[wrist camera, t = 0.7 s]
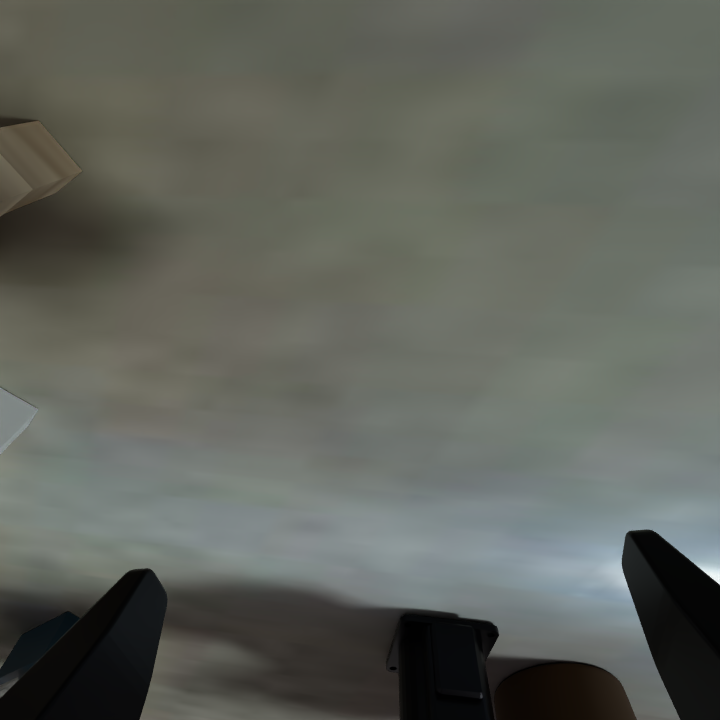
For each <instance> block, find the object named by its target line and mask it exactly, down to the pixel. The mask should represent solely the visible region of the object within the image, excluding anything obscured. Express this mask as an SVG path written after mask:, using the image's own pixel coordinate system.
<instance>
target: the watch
mask: <svg viewBox="0 0 720 720" xmlns="http://www.w3.org/2000/svg"><path fill="white" fill-rule="evenodd" d="M79 619H80V618H78V617H77V616H75V615H73V614H72V613H70V612H66V613H64V614H62V615H60V616H58V617H56V618H54V619H52V620H50V621H48V622H46V623H44V624H42V625H40V626H38V627H36V628H34V629H32V630H30V631H28V632H27V633H25V634H23V635H21V637H20V639H19V640H18V642H17V643H16V645H15V646H14V648H13V650H12V651H11V653H10V654H9V656H8V658H7V659H6V661H5V662H4V664H3V666H2V667H1V669H0V698H1V697H2V696H3V695H4V694H5V693H6V692H7V691H8V690H9V689H10V688H11V687H12V686H13V685H14V684H15V683H16V682H17V681H18V680H19V679H20V678H21V677H22V676H23V675H24V674H25V673H26V672H27V671H28V670H29V669H30V668H31V667H32V666H33V665H34V664H35V663H36V662H37V661H38V660H39V659H40V658H41V657H42V656H43V655H44V654H45V653H46V652H47V651H48V650H49V649H50V648H51V647H52V646H53V645H54V644H55V643H56V642H57V641H58V640H59V639H60V638H61V637H62V636H63V635H64V634H65V633H66V632H67V631H68V630H69V629H70V628H71V627H72V626H73V625H74V624H75V623H76V622H77V621H78V620H79Z"/></svg>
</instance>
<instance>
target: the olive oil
mask: <svg viewBox="0 0 720 720" xmlns="http://www.w3.org/2000/svg"><path fill="white" fill-rule="evenodd" d="M494 704H495V712H496V718H497V720H637V719H636V717H635V714H634V712H633V709H632V707H631V705H630V702H629V700H628V697H627V695H626V693H625V690H624V688H623V686H622V684H621V683H620V681H619V680H618V679H617V678H616V677H615V676H613V675H612V674H610V673H608V672H607V671H605V670H602V669H600V668H597V667H593V666H589V665H583V664H574V663H557V664H547V665H541V666H536V667H532V668H529V669H526V670H523V671H520V672H518V673H516V674H514V675H512V676H510V677H509V678H507V679H506V680H505V681H504V682H502V683H501V685H500V686H499V687H498V689H497V690H496V692H495V696H494Z"/></svg>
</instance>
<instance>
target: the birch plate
mask: <svg viewBox="0 0 720 720" xmlns="http://www.w3.org/2000/svg"><path fill="white" fill-rule="evenodd" d="M81 172H82V170H81V169H80V168H79V167H78V166H77V164H76V163H75V162H74V161H73V160H72V159H71V157H70V156H69V155H68V154H67V153H66V152H65V150H64V149H63V148H62V147H61V146H60V145H59V144H58V142H57V141H56V140H55V139H54V138H53V137H52V135H51V134H50V133H49V132H48V131H47V130H46V128H45V127H44V126H43V125H42V124H41V123H40V121H34V122H28V123H22V124H16V125H11V126H5V127H0V217H1V216H2V215H3V214H5V213H8V212H10V211H13V210H15V209H18V208H20V207H23V206H25V205H28V204H30V203H33V202H35V201H37V200H40V199H42V198H45V197H47V196H50V195H52V194H55V193H57V192H58V191H59V190H60V189H61V188H63V187H64V186H65V185H66V184H68V183H69V182H70V181H71V180H72V179H74V178H75V177H76V176H77V175H78V174H80V173H81Z"/></svg>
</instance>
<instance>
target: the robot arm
mask: <svg viewBox="0 0 720 720" xmlns="http://www.w3.org/2000/svg"><path fill="white" fill-rule="evenodd" d="M622 568H623V573H624V576H625V579H626V582H627V584H628V587H629V590H630V593H631V596H632V599H633V602H634V605H635V608H636V611H637V614H638V616H639V619H640V622H641V625H642V628H643V631H644V634H645V637H646V640H647V643H648V645H649V648H650V651H651V654H652V657H653V659H654V662H655V665H656V667H657V669H658V672H659V674H660V676H661V679H662V681H663V683H664V685H665V687H666V689H667V692H668V694H669V696H670V698H671V700H672V702H673V705H674V707H675V709H676V711H677V713H678V715H679V718H680V720H720V585H719V584H718V583H717V582H716V581H714V580H713V579H712V578H711V577H710V576H708V575H707V574H706V573H705V572H703V571H702V570H701V569H700V568H699V567H697V566H696V565H695V564H694V563H693V562H691V561H690V560H689V559H688V558H686V557H685V556H684V555H683V554H682V553H680V552H679V551H678V550H677V549H676V548H674V547H673V546H672V545H671V544H670V543H668V542H667V541H666V540H665V539H663V538H662V537H661V536H660V535H659V534H657V533H656V532H654V531H652V530H635V531H629V532H628V533H627V534H626V536H625V542H624V549H623V555H622ZM166 607H167V594H166V591H165V589H164V588H163V586H162V585H161V583H160V581H159V580H158V578H157V576H156V575H155V573H154V572H153V571H152V570H151V569H148V568H146V569H134V570H131V571H129V572H127V573H126V574H125V575H124V576H123V577H122V578H121V579H120V580H119V581H118V582H117V583H116V584H115V585H114V586H113V587H112V588H111V589H110V590H109V591H108V592H107V593H106V594H105V595H104V596H103V597H102V598H101V599H100V600H99V601H98V602H97V603H96V604H95V605H94V606H92V607H91V608H90V609H89V610H88V611H87V612H86V613H85V614H84V615H83V616H82V617H81V618H80V619H79V620H78V621H77V622H76V623H75V624H74V625H73V626H72V627H71V628H70V629H69V630H68V631H67V632H66V633H65V634H64V635H63V636H62V637H61V638H60V639H59V640H58V641H57V642H56V643H55V644H54V645H53V646H52V647H51V648H50V649H49V650H48V651H47V652H46V653H45V654H44V655H43V656H42V657H41V658H40V659H39V660H38V661H37V662H36V663H35V664H34V665H33V666H32V667H31V668H30V669H29V670H28V671H27V672H26V673H25V674H24V675H23V676H22V677H21V678H20V679H19V680H18V681H17V682H16V683H15V684H14V685H13V686H12V687H11V688H10V689H9V690H8V691H7V692H6V693H5V694H4V695H3V696H2V697H1V698H0V720H139V719H140V716H141V713H142V709H143V706H144V703H145V700H146V696H147V693H148V689H149V686H150V681H151V677H152V673H153V668H154V664H155V659H156V654H157V650H158V645H159V640H160V635H161V631H162V626H163V621H164V616H165V612H166ZM498 636H499V633H498V628H497V626H495V625H490V624H482V623H474V622H465V621H457V620H449V619H441V618H432V617H424V616H416V615H403V616H401V618H400V620H399V623H398V626H397V629H396V633H395V636H394V639H393V642H392V645H391V648H390V652H389V655H388V658H387V661H386V669H387V670H388V671H390V672H396V673H399V706H400V720H495V719H494V714H493V708H492V702H491V696H490V690H489V684H488V678H487V672H486V666H485V661H486V659H487V657H488V655H489V653H490V651H491V649H492V648H493V646H494V644H495V642H496V640H497V638H498Z"/></svg>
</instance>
